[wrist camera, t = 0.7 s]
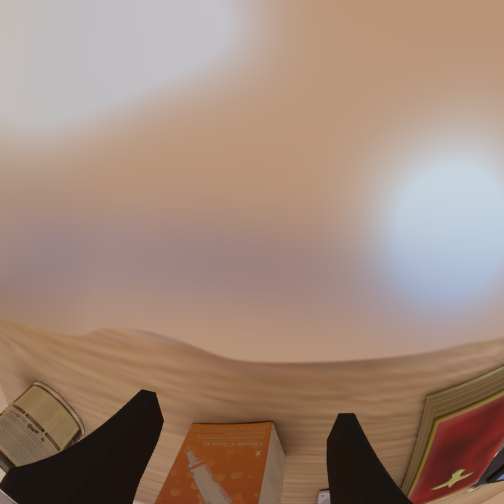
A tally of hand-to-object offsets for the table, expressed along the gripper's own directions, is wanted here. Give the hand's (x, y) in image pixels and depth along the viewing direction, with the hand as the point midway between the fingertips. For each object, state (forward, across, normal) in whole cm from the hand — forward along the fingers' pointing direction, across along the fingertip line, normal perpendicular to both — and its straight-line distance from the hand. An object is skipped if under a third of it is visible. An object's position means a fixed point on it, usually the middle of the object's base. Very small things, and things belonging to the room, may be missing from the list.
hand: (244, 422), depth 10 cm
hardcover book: (+8, -23, +16) cm, 29 cm away
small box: (+8, +1, +16) cm, 18 cm away
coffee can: (+9, +27, +22) cm, 36 cm away
